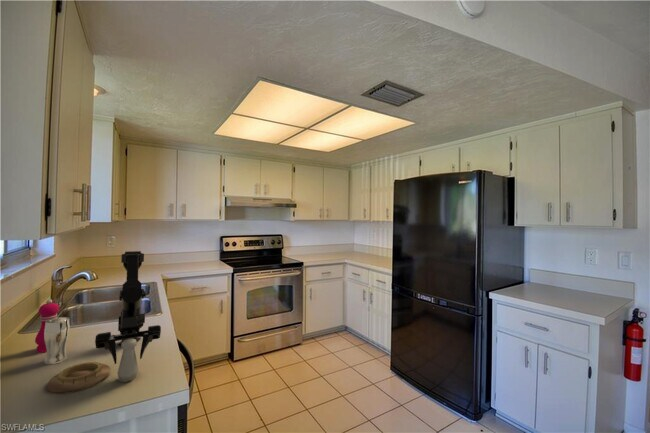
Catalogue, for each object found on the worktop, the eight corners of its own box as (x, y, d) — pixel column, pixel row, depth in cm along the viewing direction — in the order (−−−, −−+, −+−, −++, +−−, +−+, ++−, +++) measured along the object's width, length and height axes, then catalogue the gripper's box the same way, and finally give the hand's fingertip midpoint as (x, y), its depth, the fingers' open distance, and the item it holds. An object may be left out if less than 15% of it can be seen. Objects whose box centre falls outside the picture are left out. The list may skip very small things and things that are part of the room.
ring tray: (71, 367, 103) (71, 359, 103) (119, 366, 106) (120, 357, 106) (32, 394, 88) (33, 384, 88) (91, 392, 90) (91, 382, 90)
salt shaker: (134, 372, 102) (136, 335, 102) (140, 378, 98) (142, 339, 98) (114, 379, 97) (116, 340, 97) (120, 385, 94) (121, 345, 94)
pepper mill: (64, 345, 120) (66, 297, 121) (48, 353, 113) (50, 302, 113) (46, 345, 120) (48, 296, 120) (29, 353, 113) (31, 301, 113)
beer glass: (48, 357, 110) (50, 317, 110) (71, 355, 113) (73, 316, 113) (38, 366, 104) (40, 324, 104) (62, 363, 106) (64, 322, 106)
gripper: (97, 309, 96) (90, 357, 87) (161, 302, 106) (162, 344, 97) (99, 325, 103) (93, 371, 93) (159, 317, 113) (159, 358, 103)
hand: (128, 360), depth 97 cm, fingers open, 7 cm apart
